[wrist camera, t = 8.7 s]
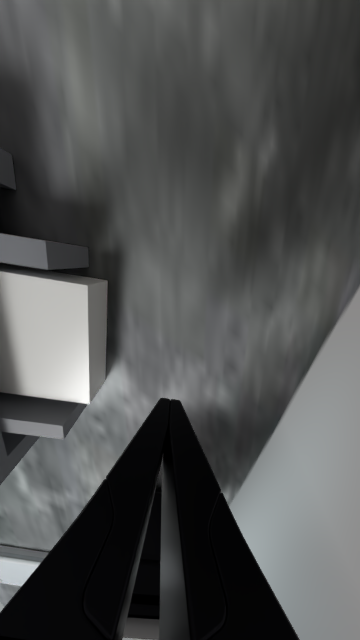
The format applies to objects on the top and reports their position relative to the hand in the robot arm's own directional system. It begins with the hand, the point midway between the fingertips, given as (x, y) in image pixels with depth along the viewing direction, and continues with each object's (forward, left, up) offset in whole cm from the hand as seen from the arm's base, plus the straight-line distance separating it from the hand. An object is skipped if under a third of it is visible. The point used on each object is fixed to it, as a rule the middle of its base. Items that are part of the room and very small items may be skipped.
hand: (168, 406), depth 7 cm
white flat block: (0, +10, -6) cm, 12 cm away
